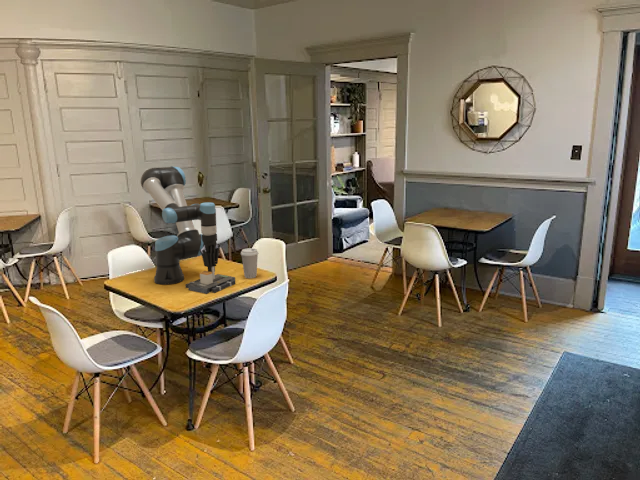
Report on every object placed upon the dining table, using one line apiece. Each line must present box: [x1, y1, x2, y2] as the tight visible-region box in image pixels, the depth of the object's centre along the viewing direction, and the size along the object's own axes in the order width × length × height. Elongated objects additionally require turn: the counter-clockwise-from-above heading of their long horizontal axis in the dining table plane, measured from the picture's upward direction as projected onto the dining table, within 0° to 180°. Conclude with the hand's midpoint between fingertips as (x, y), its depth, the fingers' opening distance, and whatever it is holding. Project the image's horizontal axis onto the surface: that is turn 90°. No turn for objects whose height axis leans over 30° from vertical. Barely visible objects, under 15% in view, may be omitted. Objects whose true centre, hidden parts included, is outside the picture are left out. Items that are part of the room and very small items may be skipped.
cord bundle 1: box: [184, 278, 200, 289], centre depth 253 cm, size 5×18×2 cm, turn 151°
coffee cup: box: [240, 247, 259, 279], centre depth 263 cm, size 10×10×15 cm
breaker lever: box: [199, 270, 213, 285], centre depth 245 cm, size 5×4×6 cm
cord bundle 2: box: [211, 280, 236, 294], centre depth 246 cm, size 3×16×2 cm, turn 151°
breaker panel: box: [187, 273, 236, 295], centre depth 249 cm, size 12×22×3 cm, turn 151°
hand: (211, 278), depth 248 cm, fingers closed
